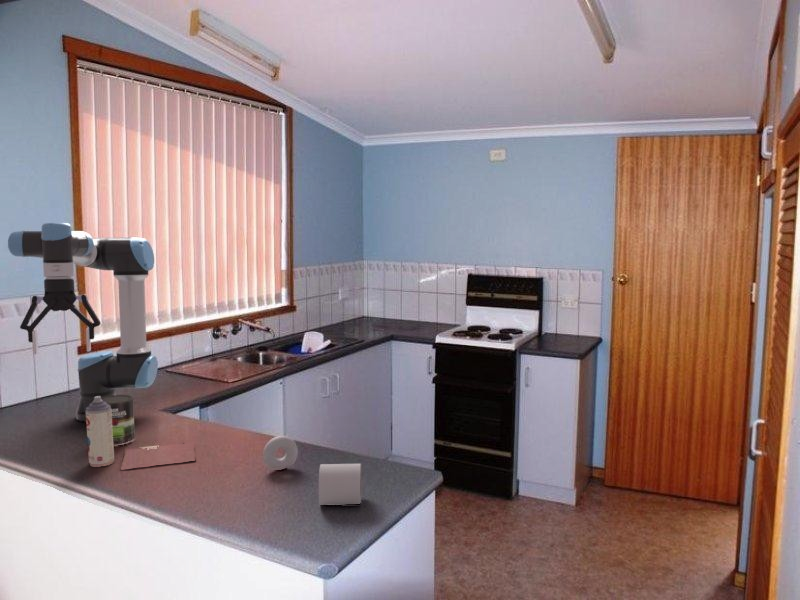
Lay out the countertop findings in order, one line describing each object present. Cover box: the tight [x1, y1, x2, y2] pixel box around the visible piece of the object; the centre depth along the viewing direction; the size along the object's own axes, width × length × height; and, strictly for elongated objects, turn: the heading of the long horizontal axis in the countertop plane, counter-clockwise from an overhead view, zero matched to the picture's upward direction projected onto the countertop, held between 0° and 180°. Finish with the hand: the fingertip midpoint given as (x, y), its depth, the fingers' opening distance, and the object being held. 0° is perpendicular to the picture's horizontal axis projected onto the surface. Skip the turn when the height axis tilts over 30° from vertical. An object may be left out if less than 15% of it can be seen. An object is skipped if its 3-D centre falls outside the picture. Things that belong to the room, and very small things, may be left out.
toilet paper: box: [318, 463, 362, 506], centre depth 163 cm, size 10×10×10 cm
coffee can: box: [101, 394, 136, 445], centre depth 210 cm, size 10×10×14 cm
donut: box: [262, 435, 299, 468], centre depth 185 cm, size 10×4×10 cm, turn 116°
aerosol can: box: [85, 396, 115, 464], centre depth 190 cm, size 7×7×20 cm
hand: (62, 352), depth 186 cm, fingers open, 13 cm apart
